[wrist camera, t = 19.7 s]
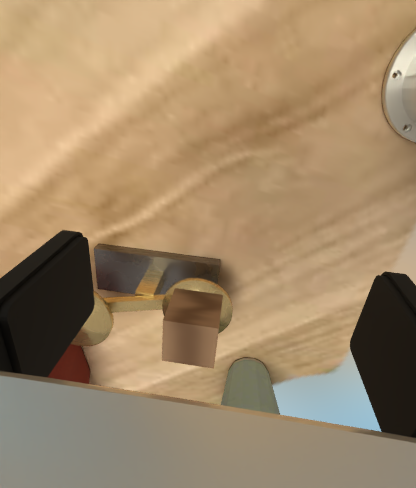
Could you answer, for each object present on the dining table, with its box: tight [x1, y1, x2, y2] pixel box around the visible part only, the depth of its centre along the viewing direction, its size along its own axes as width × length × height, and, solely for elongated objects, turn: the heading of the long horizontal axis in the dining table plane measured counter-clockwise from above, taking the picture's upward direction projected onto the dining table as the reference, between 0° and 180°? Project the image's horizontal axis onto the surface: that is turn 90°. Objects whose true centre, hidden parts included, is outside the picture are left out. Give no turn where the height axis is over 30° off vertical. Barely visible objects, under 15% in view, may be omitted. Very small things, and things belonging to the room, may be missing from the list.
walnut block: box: [162, 288, 223, 368], centre depth 37 cm, size 6×6×6 cm
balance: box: [71, 244, 233, 346], centre depth 42 cm, size 23×9×12 cm, turn 85°
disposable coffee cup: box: [221, 358, 280, 415], centre depth 47 cm, size 11×11×15 cm
